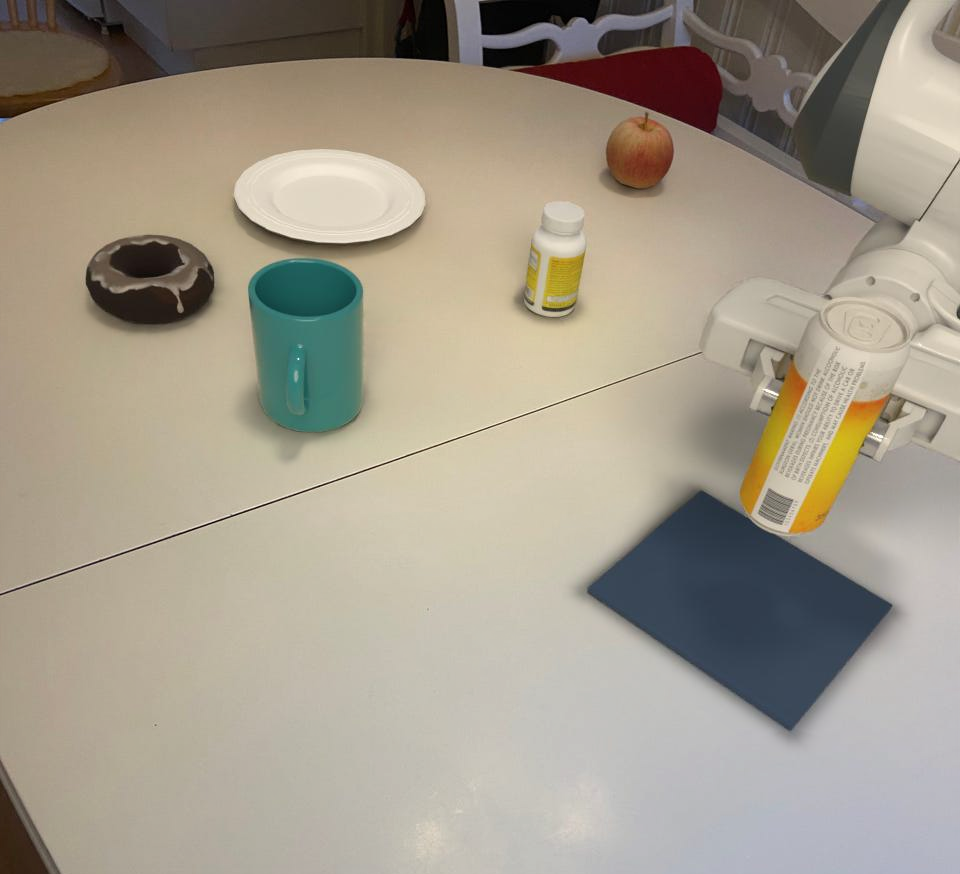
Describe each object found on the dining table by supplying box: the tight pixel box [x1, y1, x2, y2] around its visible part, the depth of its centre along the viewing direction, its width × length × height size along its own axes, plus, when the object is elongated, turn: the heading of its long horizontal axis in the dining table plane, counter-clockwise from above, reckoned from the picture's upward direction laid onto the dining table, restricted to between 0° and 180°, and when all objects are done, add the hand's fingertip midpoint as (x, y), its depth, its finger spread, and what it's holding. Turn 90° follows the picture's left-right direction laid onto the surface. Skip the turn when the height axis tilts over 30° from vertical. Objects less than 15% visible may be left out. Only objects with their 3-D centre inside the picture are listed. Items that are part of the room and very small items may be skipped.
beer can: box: [739, 297, 911, 537], centre depth 61 cm, size 6×6×15 cm
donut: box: [85, 234, 215, 325], centre depth 91 cm, size 12×12×4 cm
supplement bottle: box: [523, 200, 588, 318], centre depth 94 cm, size 5×5×10 cm
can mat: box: [587, 489, 893, 731], centre depth 74 cm, size 18×16×1 cm
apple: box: [605, 111, 675, 189], centre depth 114 cm, size 8×8×8 cm
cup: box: [247, 257, 365, 433], centre depth 79 cm, size 9×12×11 cm
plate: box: [233, 148, 427, 246], centre depth 106 cm, size 21×21×2 cm
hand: (817, 426), depth 60 cm, fingers closed on beer can, 6 cm apart
